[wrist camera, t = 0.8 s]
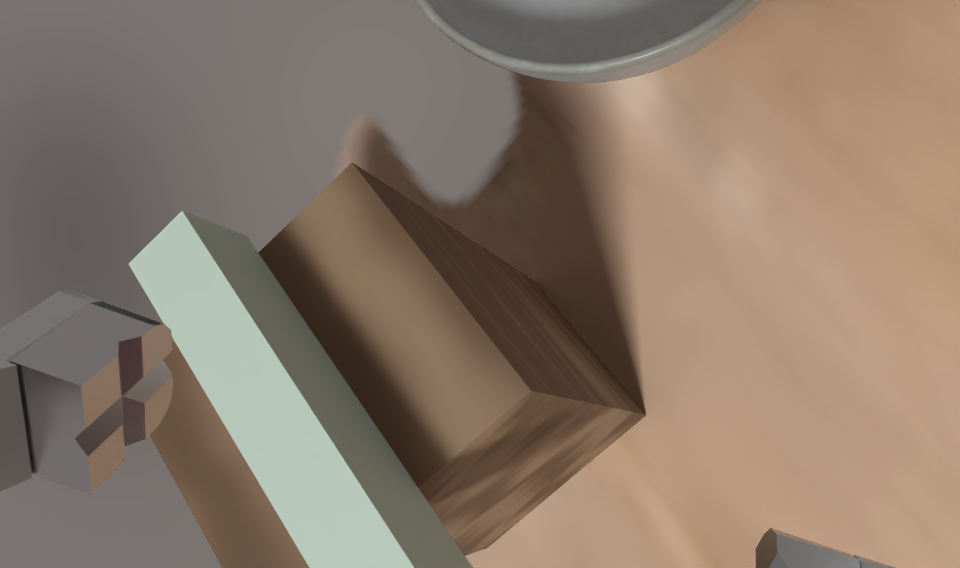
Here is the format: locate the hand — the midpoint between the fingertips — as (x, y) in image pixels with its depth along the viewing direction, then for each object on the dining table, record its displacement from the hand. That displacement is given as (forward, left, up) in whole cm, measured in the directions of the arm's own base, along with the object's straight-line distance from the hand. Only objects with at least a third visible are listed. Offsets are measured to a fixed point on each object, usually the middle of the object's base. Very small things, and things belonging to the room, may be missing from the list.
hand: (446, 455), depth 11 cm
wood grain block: (+9, -10, -44) cm, 46 cm away
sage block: (+9, -7, -18) cm, 21 cm away
